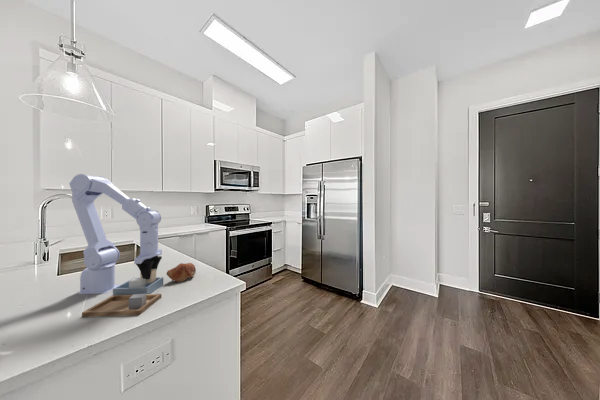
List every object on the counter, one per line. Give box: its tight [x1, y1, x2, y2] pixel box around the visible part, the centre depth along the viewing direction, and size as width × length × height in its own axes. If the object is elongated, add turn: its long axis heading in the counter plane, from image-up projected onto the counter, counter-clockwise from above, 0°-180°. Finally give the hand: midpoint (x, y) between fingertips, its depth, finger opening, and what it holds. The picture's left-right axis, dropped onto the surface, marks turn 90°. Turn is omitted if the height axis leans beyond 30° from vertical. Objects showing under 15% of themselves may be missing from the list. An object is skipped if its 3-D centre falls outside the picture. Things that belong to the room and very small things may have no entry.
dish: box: [112, 276, 164, 295], centre depth 84 cm, size 11×11×4 cm
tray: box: [81, 293, 162, 318], centre depth 72 cm, size 16×12×2 cm
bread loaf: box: [166, 262, 197, 283], centre depth 97 cm, size 13×8×10 cm
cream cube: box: [139, 269, 157, 283], centre depth 86 cm, size 4×3×4 cm
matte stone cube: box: [129, 293, 146, 309], centre depth 70 cm, size 4×3×4 cm
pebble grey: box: [128, 277, 146, 288], centre depth 82 cm, size 4×3×4 cm
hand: (149, 277), depth 86 cm, fingers closed on cream cube, 3 cm apart
